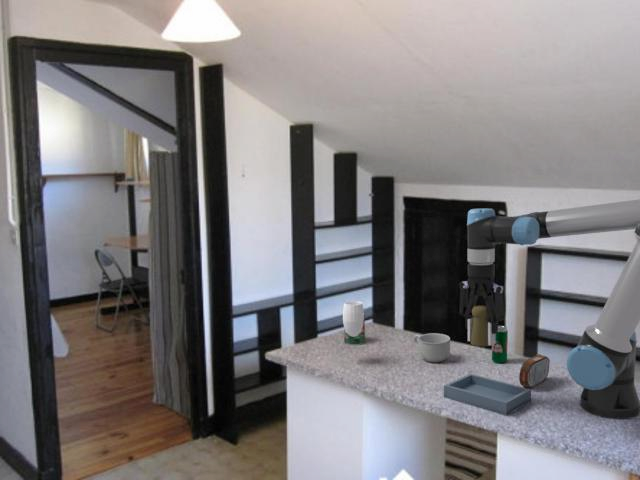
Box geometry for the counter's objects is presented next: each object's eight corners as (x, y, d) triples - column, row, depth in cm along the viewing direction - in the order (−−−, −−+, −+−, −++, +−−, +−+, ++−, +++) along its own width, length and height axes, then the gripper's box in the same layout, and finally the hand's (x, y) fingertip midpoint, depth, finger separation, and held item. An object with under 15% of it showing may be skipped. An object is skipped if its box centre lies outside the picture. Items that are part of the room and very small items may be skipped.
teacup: (456, 360, 221) (456, 338, 220) (433, 366, 215) (433, 343, 214) (428, 351, 232) (428, 329, 231) (405, 356, 226) (405, 334, 225)
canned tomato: (358, 346, 240) (358, 317, 238) (340, 343, 244) (339, 315, 242) (368, 341, 246) (368, 313, 245) (350, 338, 250) (350, 310, 249)
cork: (492, 346, 182) (492, 308, 181) (470, 346, 184) (470, 308, 182) (491, 340, 188) (491, 303, 187) (470, 340, 190) (470, 303, 188)
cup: (361, 366, 217) (360, 306, 214) (340, 364, 219) (339, 304, 216) (366, 359, 223) (366, 301, 221) (346, 358, 226) (345, 300, 223)
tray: (531, 401, 184) (531, 389, 183) (505, 415, 174) (506, 403, 173) (470, 384, 198) (470, 373, 197) (443, 396, 188) (443, 385, 188)
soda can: (488, 361, 220) (489, 327, 218) (498, 358, 223) (498, 324, 221) (500, 364, 216) (501, 330, 214) (510, 361, 219) (510, 327, 217)
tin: (541, 376, 204) (542, 350, 203) (551, 379, 202) (551, 353, 201) (517, 389, 193) (518, 362, 192) (527, 391, 191) (528, 364, 190)
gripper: (518, 264, 179) (518, 345, 182) (460, 258, 193) (460, 334, 195) (504, 267, 174) (504, 351, 177) (445, 261, 188) (446, 339, 190)
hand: (481, 342), depth 186 cm, fingers closed on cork, 6 cm apart
